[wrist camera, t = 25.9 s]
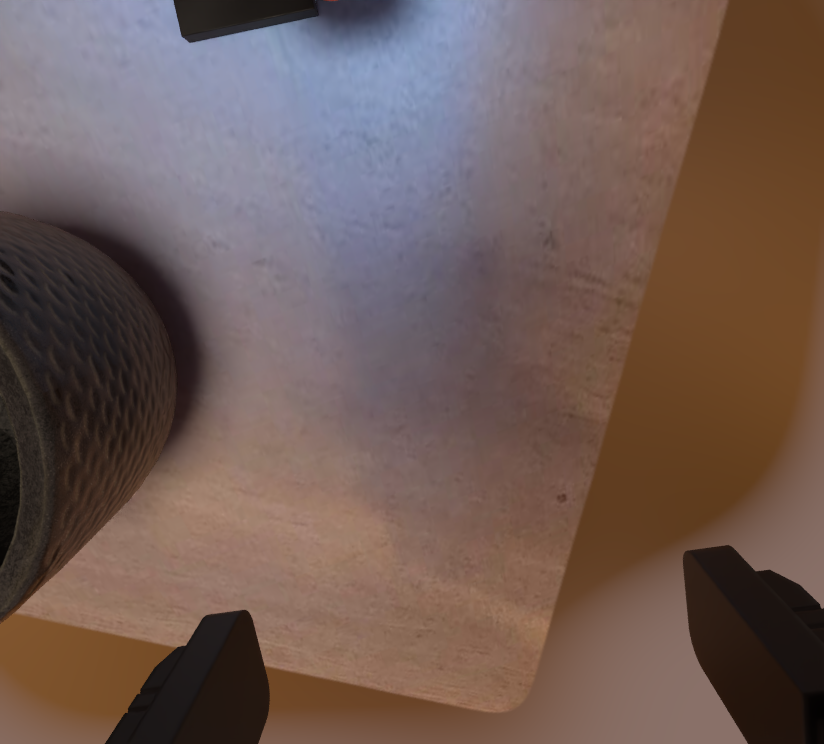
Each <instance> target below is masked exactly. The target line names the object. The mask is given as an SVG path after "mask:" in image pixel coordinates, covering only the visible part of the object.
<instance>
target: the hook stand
mask: <svg viewBox="0 0 824 744" xmlns="http://www.w3.org/2000/svg"><path fill="white" fill-rule="evenodd" d="M174 5H175V9H176V13H177V18H178V22H179V26H180V31H181V35H182V37H183V38H185V39H186V40H187V41H188V42H194V41H199V40H204V39H209V38H214V37H218V36H223V35H228V34H233V33H237V32H242V31H247V30H252V29H257V28H261V27H266V26H271V25H276V24H280V23H285V22H290V21H295V20H300V19H304V18H309V17H314V16H318V11H317V5H316V0H174Z"/></svg>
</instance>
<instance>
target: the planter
mask: <svg viewBox="0 0 824 744" xmlns="http://www.w3.org/2000/svg"><path fill="white" fill-rule="evenodd" d="M176 394H177V375H176V363H175V358H174V354H173V350H172V346H171V342H170V339H169V336H168V334H167V331H166V329H165V327H164V324H163V322H162V319H161V317H160V316H159V314H158V312H157V311H156V309H155V307H154V305H153V304H152V302H151V300H150V299H149V297H148V296H147V295H146V294H145V292H144V291H143V290H142V289H141V287H140V286H139V285H138V284H137V282H136V281H135V280H134V279H133V278H132V277H131V276H130V275H129V274H128V273H127V272H126V271H125V270H124V269H123V268H121V267H120V266H119V265H118V264H117V263H116V262H115V261H114V260H113V259H111V258H110V257H108V256H107V255H106V254H104V253H103V252H101V251H100V250H98V249H97V248H95V247H94V246H93V245H91V244H90V243H88V242H86V241H84V240H82V239H80V238H78V237H76V236H74V235H72V234H70V233H68V232H66V231H64V230H62V229H60V228H58V227H55V226H52V225H49V224H46V223H43V222H40V221H37V220H34V219H31V218H28V217H25V216H22V215H18V214H13V213H9V212H4V211H0V623H1V622H3V621H4V620H6V619H7V618H8V617H9V616H10V615H12V614H13V613H14V612H15V611H16V610H17V609H19V608H20V607H21V606H22V605H23V604H24V603H25V602H26V601H27V600H28V599H29V598H30V597H31V596H32V595H33V594H34V593H35V592H36V591H37V590H39V589H40V588H41V587H42V586H43V585H44V584H45V583H46V582H48V581H49V580H50V579H51V578H52V577H53V576H54V575H55V574H57V573H58V572H59V571H60V570H61V569H62V568H63V567H64V566H65V565H66V564H67V563H68V562H69V561H70V560H71V559H72V558H73V557H74V556H75V555H76V554H77V553H78V552H79V551H80V550H81V549H82V548H83V547H84V546H85V545H86V544H87V543H88V542H89V541H90V540H91V539H92V538H93V537H94V536H95V535H96V534H97V533H98V531H99V530H100V529H101V528H102V527H103V526H104V525H105V524H106V523H107V522H108V521H109V520H110V519H111V518H112V517H113V516H114V515H115V514H116V513H117V512H118V511H119V510H120V509H121V508H122V507H123V506H124V505H125V504H126V503H127V502H128V501H129V499H130V498H131V497H132V496H133V495H134V494H135V493H136V491H137V490H138V489H139V488H140V486H141V485H142V483H143V482H144V480H145V479H146V477H147V476H148V474H149V473H150V471H151V470H152V468H153V467H154V465H155V463H156V462H157V460H158V458H159V456H160V454H161V452H162V449H163V447H164V445H165V442H166V440H167V438H168V435H169V432H170V429H171V425H172V421H173V417H174V412H175V407H176Z"/></svg>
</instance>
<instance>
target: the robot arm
mask: <svg viewBox="0 0 824 744" xmlns="http://www.w3.org/2000/svg"><path fill="white" fill-rule="evenodd" d="M683 569H684V580H685V590H686V601H687V612H688V623H689V631H690V637H691V641H692V645H693V648H694V651H695V654H696V656H697V659H698V661H699V663H700V665H701V667H702V669H703V671H704V672H705V674H706V675H707V677H708V679H709V680H710V682H711V684H712V685H713V687H714V689H715V690H716V692H717V694H718V695H719V697H720V698H721V700H722V702H723V703H724V705H725V707H726V708H727V710H728V712H729V713H730V715H731V716H732V718H733V720H734V721H735V723H736V725H737V726H738V728H739V729H740V731H741V732H742V734H743V736H744V737H745V739H746V741H747V743H748V744H824V609H821V607H820V604H819V603H818V602H817V601H816V600H815V599H814V598H813V597H812V596H811V595H810V594H809V593H807V591H805V590H804V589H803V588H802V587H801V586H800V585H799V584H797V583H795V582H793V581H791V580H789V579H787V578H785V577H783V576H781V575H779V574H777V573H775V572H773V571H771V570H764V571H755V570H754V569H753V568H752V567H751V566H750V565H749V564H748V563H747V562H746V561H745V560H744V559H743V558H742V557H741V556H740V555H739V553H738V552H737V551H736V550H735V549H734V548H733V547H731V546H729V545H726V546H719V547H711V548H705V549H697V550H690V551H686V552H685V553H684V555H683ZM140 691H141V692H140V694H137V696H136V697H135V699H134V700H133V702H132V703H131V705H130V706H129V708H128V713H125V714H124V715H123V717H122V718H121V720H120V721H119V723H118V725H117V726H116V728H115V729H114V731H113V732H112V734H111V735H110V737H109V738H108V740H107V741H106V743H105V744H258V743H259V740H260V737H261V734H262V731H263V728H264V725H265V723H266V720H267V716H268V711H269V701H270V700H269V699H270V698H269V697H270V695H269V694H270V693H269V684H268V678H267V674H266V670H265V666H264V662H263V659H262V655H261V651H260V647H259V643H258V639H257V635H256V631H255V627H254V623H253V620H252V617H251V615H250V613H249V612H248V611H247V610H240V611H232V612H225V613H217V614H210V615H206V616H205V617H204V618H203V619H202V620H201V622H200V624H199V625H198V627H197V629H196V630H195V632H194V633H193V635H192V637H191V638H190V640H189V642H188V643H187V645H186V646H180V647H177V648H176V649H175V650H174V651H173V652H172V653H171V654H169V655H168V656H167V657H166V658H165V659H164V660H163V661H162V662H160V663H159V664H158V665H157V666H156V667H155V668H154V670H153V671H152V673H151V674H150V676H149V677H148V679H147V680H146V682H145V683H144V685H143V686H142V688H141V690H140Z"/></svg>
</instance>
